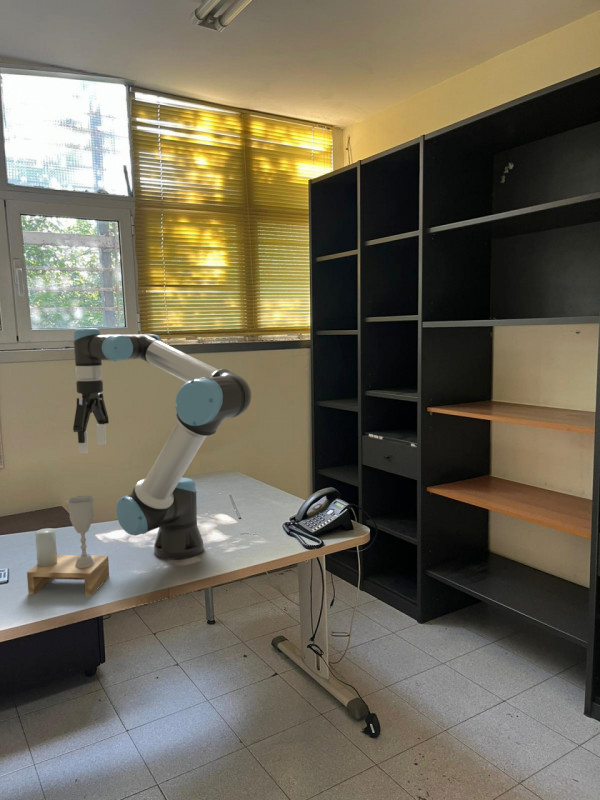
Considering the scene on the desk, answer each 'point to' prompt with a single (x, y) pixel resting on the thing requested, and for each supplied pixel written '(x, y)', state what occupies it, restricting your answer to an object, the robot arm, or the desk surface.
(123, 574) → the desk surface
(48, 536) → the white glossy rounded part
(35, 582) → the shelf
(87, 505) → the chalice
